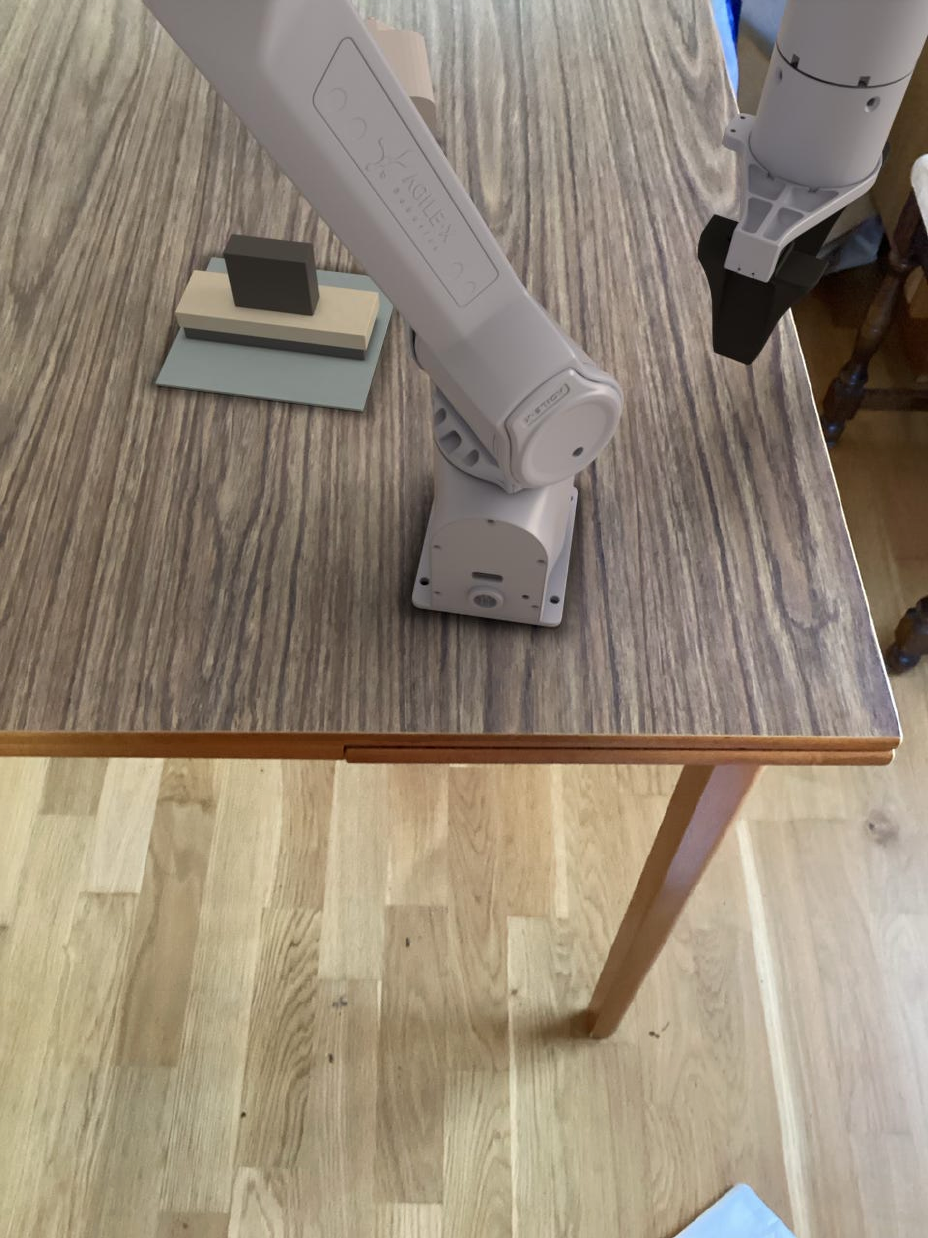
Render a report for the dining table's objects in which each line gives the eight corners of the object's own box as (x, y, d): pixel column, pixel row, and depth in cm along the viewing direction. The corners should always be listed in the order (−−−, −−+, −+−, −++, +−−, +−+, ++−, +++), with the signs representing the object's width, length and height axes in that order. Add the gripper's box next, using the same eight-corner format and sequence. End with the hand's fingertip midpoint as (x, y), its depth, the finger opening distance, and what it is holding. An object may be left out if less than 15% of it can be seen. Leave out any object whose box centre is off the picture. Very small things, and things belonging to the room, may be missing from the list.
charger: (418, 46, 84) (436, 157, 76) (305, 51, 83) (311, 163, 75) (417, -15, 80) (435, 95, 72) (298, -10, 79) (303, 101, 71)
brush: (367, 362, 64) (360, 282, 59) (182, 338, 65) (159, 257, 60) (380, 319, 66) (374, 237, 61) (200, 296, 67) (180, 214, 62)
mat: (362, 412, 62) (362, 409, 62) (156, 385, 63) (155, 382, 63) (400, 281, 68) (400, 279, 68) (212, 259, 69) (211, 256, 69)
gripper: (810, -51, 47) (738, 209, 58) (687, 108, 40) (633, 367, 51) (965, -10, 45) (859, 251, 56) (864, 164, 38) (767, 420, 49)
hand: (760, 310), depth 54 cm, fingers open, 7 cm apart
